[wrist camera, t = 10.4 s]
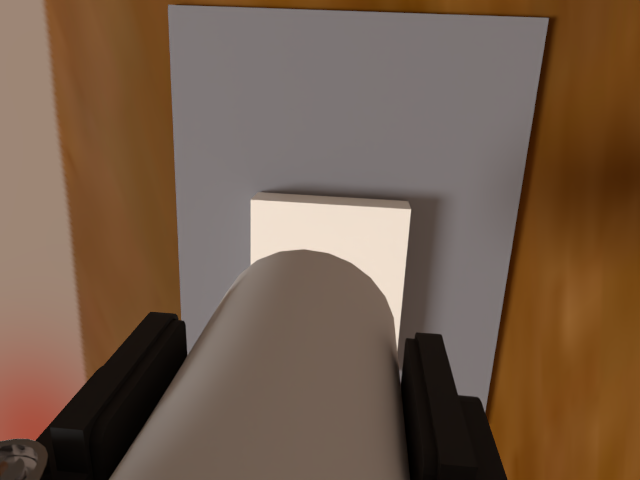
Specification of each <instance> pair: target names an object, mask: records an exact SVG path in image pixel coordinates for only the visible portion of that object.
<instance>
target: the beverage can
mask: <svg viewBox="0 0 640 480" xmlns="http://www.w3.org/2000/svg"><path fill="white" fill-rule="evenodd" d="M109 480H410V472H409V462H408V452H407V442H406V432H405V423H404V413H403V403H402V393H401V383H400V373H399V363H398V354H397V344H396V334H395V324H394V317H393V314H392V312H391V309H390V307H389V304H388V302H387V299H386V297H385V295H384V294H383V293H382V292H381V290H380V289H379V288H378V286H377V285H376V284H375V282H374V281H373V280H372V279H371V278H370V277H369V276H368V275H367V274H365V273H364V272H363V271H361V270H360V269H359V268H357V267H356V266H355V265H354V264H352V263H351V262H348V261H346V260H344V259H341V258H339V257H337V256H334V255H332V254H329V253H325V252H318V251H312V250H306V249H301V250H290V251H280V252H277V253H274V254H272V255H269V256H267V257H264V258H261V259H259V260H257V261H255V262H254V263H253V264H252V265H251V266H249V267H248V268H247V269H246V270H244V271H243V272H242V273H241V274H240V275H239V276H238V277H237V279H236V280H235V281H234V283H233V284H232V286H231V287H230V288H229V290H228V291H227V292H226V294H225V296H224V297H223V299H222V300H221V302H220V304H219V305H218V307H217V309H216V310H215V312H214V314H213V315H212V317H211V318H210V320H209V322H208V323H207V325H206V327H205V328H204V330H203V331H202V333H201V335H200V336H199V338H198V340H197V341H196V343H195V344H194V346H193V348H192V349H191V351H190V353H189V354H188V356H187V357H186V359H185V361H184V362H183V364H182V366H181V367H180V369H179V370H178V372H177V374H176V375H175V377H174V379H173V380H172V382H171V383H170V385H169V387H168V388H167V390H166V391H165V393H164V395H163V396H162V398H161V399H160V401H159V402H158V404H157V406H156V407H155V409H154V410H153V412H152V414H151V415H150V417H149V418H148V420H147V422H146V423H145V425H144V426H143V428H142V429H141V431H140V433H139V434H138V436H137V437H136V439H135V440H134V442H133V443H132V445H131V446H130V448H129V449H128V451H127V453H126V454H125V456H124V457H123V459H122V460H121V462H120V463H119V465H118V466H117V468H116V469H115V471H114V472H113V474H112V476H111V477H110V479H109Z"/></svg>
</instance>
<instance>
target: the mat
mask: <svg viewBox="0 0 640 480" xmlns="http://www.w3.org/2000/svg"><path fill="white" fill-rule="evenodd" d="M168 19H169V42H170V65H171V88H172V111H173V134H174V157H175V180H176V203H177V226H178V250H179V273H180V296H181V319H182V321H184V322H185V324H186V339H187V356H188V354H189V353H190V351H191V349H192V348H193V346H194V344H195V343H196V341H197V340H198V338H199V336H200V335H201V333H202V331H203V330H204V328H205V327H206V325H207V323H208V322H209V320H210V318H211V317H212V315H213V314H214V312H215V310H216V309H217V307H218V305H219V304H220V302H221V300H222V299H223V297H224V296H225V294H226V292H227V291H228V290H229V288H230V287H231V286H232V284H233V283H234V281H235V280H236V279H237V277H238V276H239V275H240V274H241V273H242V272H243V271H244V270H246V269H247V268H248V267H249V266H251V199H252V198H253V197H254V196H255V195H256V194H257V193H258V192H264V193H281V194H297V195H314V196H331V197H348V198H365V199H382V200H399V201H408V202H409V205H410V208H411V216H410V226H409V236H408V247H407V257H406V267H405V277H404V288H403V298H402V308H401V318H400V329H399V339H398V349H397V354H398V363H399V373H400V383H401V377H402V367H403V358H404V348H405V341H406V338H413V339H414V338H415V334H416V332H420V333H432V334H441V335H442V337H443V341H444V345H445V349H446V352H447V356H448V360H449V363H450V367H451V371H452V374H453V378H454V382H455V385H456V389H457V393H458V395H463V396H475V397H478V398H480V400H481V402H482V405H483V408H484V411H486V405H487V398H488V392H489V386H490V380H491V374H492V367H493V361H494V355H495V349H496V343H497V337H498V330H499V324H500V318H501V312H502V306H503V299H504V293H505V287H506V281H507V275H508V268H509V262H510V256H511V250H512V244H513V238H514V231H515V225H516V219H517V213H518V207H519V200H520V194H521V188H522V182H523V176H524V169H525V163H526V157H527V151H528V145H529V139H530V132H531V126H532V120H533V114H534V108H535V101H536V95H537V89H538V83H539V77H540V71H541V64H542V58H543V52H544V46H545V40H546V33H547V27H548V21H549V18H537V17H508V16H479V15H450V14H421V13H391V12H362V11H333V10H304V9H275V8H246V7H217V6H187V5H168Z"/></svg>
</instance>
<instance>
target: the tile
mask: <svg viewBox="0 0 640 480" xmlns="http://www.w3.org/2000/svg"><path fill="white" fill-rule="evenodd" d="M410 216H411V208H410V205H409V202H408V201H399V200H382V199H365V198H348V197H331V196H314V195H297V194H281V193H264V192H258V193H257V194H256V195H255V196H254V197H253V198H252V199H251V265H252V264H253V263H254V262H255V261H257V260H259V259H261V258H264V257H267V256H269V255H272V254H274V253H277V252H280V251H290V250H301V249H306V250H312V251H318V252H325V253H329V254H332V255H334V256H337V257H339V258H341V259H344V260H346V261H348V262H351V263H352V264H354V265H355V266H356V267H357V268H359V269H360V270H361V271H363V272H364V273H365V274H367V275H368V276H369V277H370V278H371V279H372V280H373V281H374V282H375V284H376V285H377V286H378V288H379V289H380V290H381V292H382V293H383V294H384V295H385V297H386V299H387V302H388V304H389V307H390V309H391V312H392V314H393V317H394V324H395V334H396V344H397V349H398V339H399V329H400V318H401V308H402V298H403V288H404V277H405V267H406V257H407V247H408V236H409V226H410Z"/></svg>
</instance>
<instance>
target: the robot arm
mask: <svg viewBox="0 0 640 480" xmlns="http://www.w3.org/2000/svg"><path fill="white" fill-rule="evenodd" d="M186 357H187V339H186V324H185V322H184V321H181V320H178V317H177V315H176V314H172V313H159V312H150V313H149V314H148V315H147V316H146V317H145V318H144V320H143V321H142V322H141V323H140V324H139V325H138V326H137V328H136V329H135V330H134V331H133V332H132V333H131V335H130V336H129V337H128V338H127V339H126V340H125V341H124V343H123V344H122V345H121V346H120V347H119V348H118V350H117V351H116V352H115V353H114V354H113V355H112V356H111V358H110V359H109V360H108V361H107V362H106V363H105V364H104V366H102V367H100V368H99V369H98V370H97V371H96V372H95V373H94V374H93V376H92V377H91V378H90V379H89V380H88V381H87V382H86V384H85V385H84V386H83V387H82V388H81V389H80V390H79V392H78V393H77V394H76V395H75V396H74V397H73V398H72V400H71V401H70V402H69V403H68V404H67V405H66V406H65V408H64V409H63V410H62V411H61V412H60V413H59V414H58V416H57V417H56V418H55V419H54V420H53V421H52V422H51V424H50V425H49V426H48V427H47V428H46V429H45V430H44V431H43V433H42V434H41V435H40V436H39V437H38V438H37V439H36V441H33V440H30V439H11V440H6V441H0V480H109V479H110V477H111V476H112V474H113V472H114V471H115V469H116V468H117V466H118V465H119V463H120V462H121V460H122V459H123V457H124V456H125V454H126V453H127V451H128V449H129V448H130V446H131V445H132V443H133V442H134V440H135V439H136V437H137V436H138V434H139V433H140V431H141V429H142V428H143V426H144V425H145V423H146V422H147V420H148V418H149V417H150V415H151V414H152V412H153V410H154V409H155V407H156V406H157V404H158V402H159V401H160V399H161V398H162V396H163V395H164V393H165V391H166V390H167V388H168V387H169V385H170V383H171V382H172V380H173V379H174V377H175V375H176V374H177V372H178V370H179V369H180V367H181V366H182V364H183V362H184V361H185V359H186ZM401 393H402V403H403V413H404V423H405V432H406V442H407V452H408V462H409V472H410V480H507V477H506V474H505V471H504V468H503V465H502V462H501V459H500V456H499V453H498V450H497V447H496V444H495V441H494V438H493V435H492V432H491V429H490V426H489V423H488V420H487V417H486V414H485V411H484V408H483V405H482V402H481V400H480V398H478V397H475V396H463V395H458V393H457V389H456V385H455V382H454V378H453V374H452V371H451V367H450V363H449V360H448V356H447V352H446V349H445V345H444V341H443V337H442V335H441V334H432V333H420V332H416V334H415V338H414V339H413V338H406V341H405V348H404V358H403V367H402V377H401Z"/></svg>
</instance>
